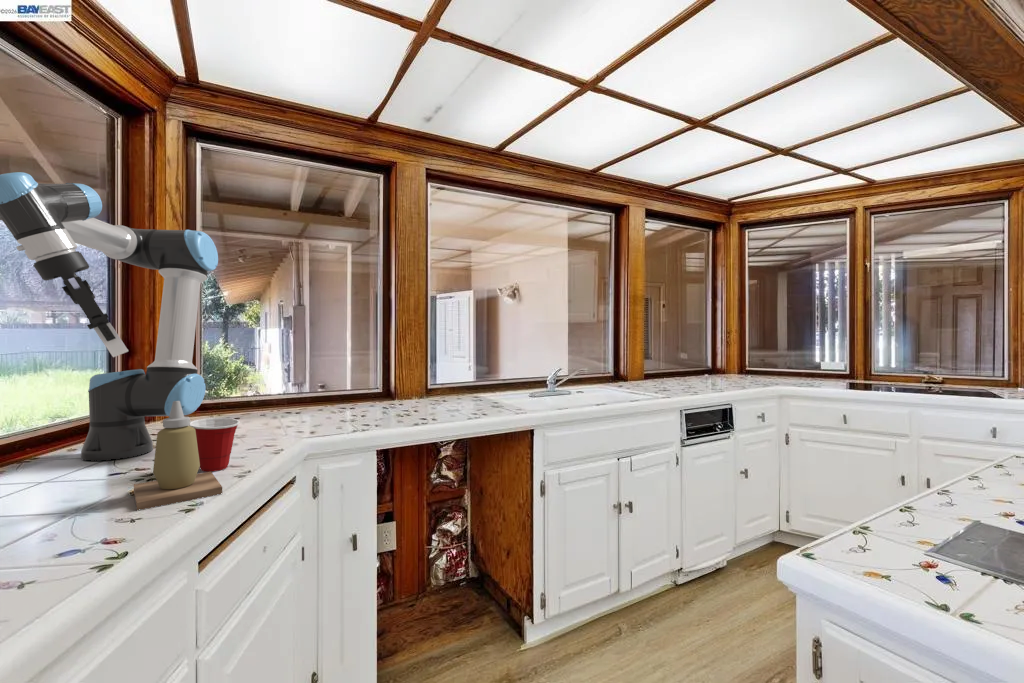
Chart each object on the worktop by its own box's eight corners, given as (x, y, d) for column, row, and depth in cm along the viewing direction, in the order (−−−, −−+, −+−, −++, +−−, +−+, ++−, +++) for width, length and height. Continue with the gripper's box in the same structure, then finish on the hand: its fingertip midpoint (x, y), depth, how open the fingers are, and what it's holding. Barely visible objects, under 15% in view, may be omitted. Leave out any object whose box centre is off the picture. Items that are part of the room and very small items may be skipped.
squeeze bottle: (163, 494, 92) (162, 405, 92) (146, 487, 96) (145, 402, 96) (207, 483, 99) (206, 400, 98) (189, 477, 103) (189, 397, 103)
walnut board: (133, 491, 98) (133, 484, 98) (211, 477, 108) (211, 471, 107) (136, 510, 88) (136, 502, 88) (222, 493, 97) (222, 486, 97)
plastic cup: (215, 476, 108) (215, 426, 108) (177, 473, 111) (176, 424, 110) (250, 463, 119) (250, 417, 119) (214, 461, 121) (214, 416, 121)
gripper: (34, 264, 97) (95, 352, 105) (26, 259, 79) (100, 366, 87) (78, 252, 102) (133, 338, 110) (79, 245, 84) (145, 348, 92)
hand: (118, 350), depth 98 cm, fingers open, 13 cm apart
